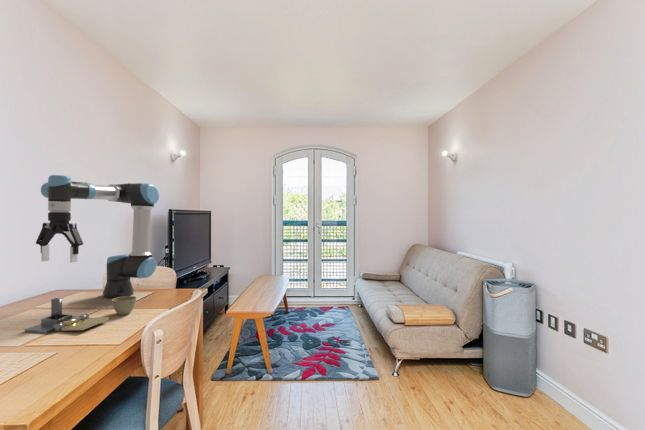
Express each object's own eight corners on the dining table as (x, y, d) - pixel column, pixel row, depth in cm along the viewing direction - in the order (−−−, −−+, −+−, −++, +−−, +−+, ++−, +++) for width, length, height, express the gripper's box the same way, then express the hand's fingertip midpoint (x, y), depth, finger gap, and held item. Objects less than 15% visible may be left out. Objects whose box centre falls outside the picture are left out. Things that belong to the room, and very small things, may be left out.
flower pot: (140, 310, 158) (141, 296, 158) (126, 317, 148) (126, 301, 148) (122, 309, 159) (122, 295, 159) (106, 316, 149) (106, 300, 149)
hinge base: (66, 317, 146) (66, 309, 146) (92, 319, 144) (92, 311, 144) (24, 331, 128) (24, 323, 128) (53, 334, 127) (54, 325, 127)
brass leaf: (82, 320, 142) (81, 314, 142) (108, 319, 141) (108, 313, 141) (53, 331, 129) (53, 324, 129) (83, 330, 128) (82, 323, 128)
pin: (56, 321, 138) (56, 297, 138) (64, 321, 138) (64, 298, 138) (48, 323, 135) (48, 300, 135) (56, 324, 135) (56, 300, 134)
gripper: (24, 211, 135) (24, 261, 136) (78, 212, 132) (78, 263, 132) (42, 211, 143) (42, 259, 143) (93, 212, 140) (93, 261, 140)
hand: (59, 261), depth 138 cm, fingers open, 13 cm apart
